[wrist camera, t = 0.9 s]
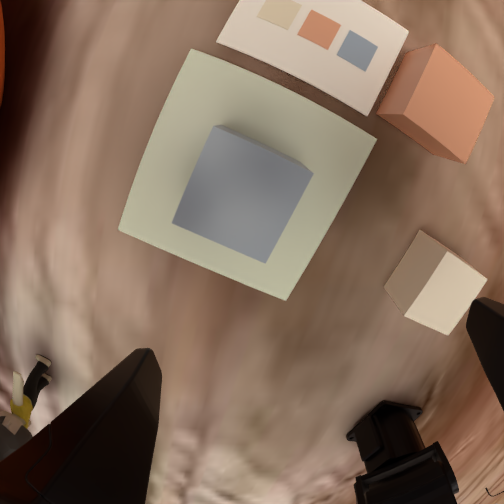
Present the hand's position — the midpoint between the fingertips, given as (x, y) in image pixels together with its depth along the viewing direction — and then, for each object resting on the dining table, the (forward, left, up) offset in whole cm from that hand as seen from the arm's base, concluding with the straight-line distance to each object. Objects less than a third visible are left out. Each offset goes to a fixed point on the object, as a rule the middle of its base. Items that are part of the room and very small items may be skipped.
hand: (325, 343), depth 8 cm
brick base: (+3, 0, -12) cm, 13 cm away
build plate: (+3, 0, -13) cm, 13 cm away
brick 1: (-5, -10, -13) cm, 18 cm away
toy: (+13, +24, -13) cm, 30 cm away
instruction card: (+3, -11, -13) cm, 17 cm away
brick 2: (-12, 0, -13) cm, 18 cm away
